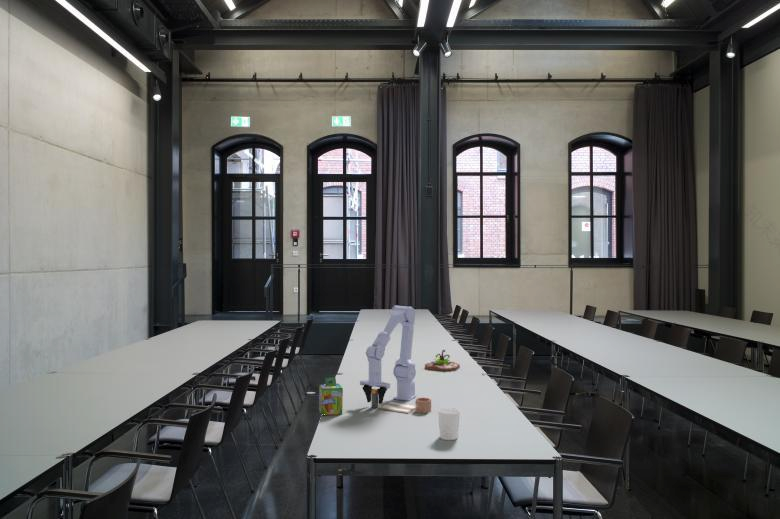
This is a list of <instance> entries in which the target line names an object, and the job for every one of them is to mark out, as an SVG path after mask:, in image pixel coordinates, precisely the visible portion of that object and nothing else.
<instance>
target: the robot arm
mask: <svg viewBox="0 0 780 519" xmlns="http://www.w3.org/2000/svg"><path fill="white" fill-rule="evenodd" d="M415 318H416V311H415V309H414V308H413V307H412V306H403V305H396V304H395V305H393V307H392V308H391V311H390V317H389V319H388V321H387V323H386V325H385V327H384V330H383V331H380V332H378V334H377V336H376V337H375V339H374V341H373V342H372V344H370V345H369V346H368V347H367V348H366V351H365V356H366V357H367V362H368V380H367V379H365V380H364V379H362V380H359V386H362V391H363V392H364V395H365V397H366V401H367V403H372V393H371V389H373V388H374V387H375V388H376V389H377V390H378V405H382V404H383V402H384V397H385V394H386V393H387V391H388V389H390V388H391V383H389V382H388V383H387V382H386V381H385V382H384V381H382V359H383V357H384V356H385V351H386V347H387V345H388V344H389V341H390V340H391V334H392V332H393V331H394V330H395V328H396V327H397V326H398V324H399V323H400V324H401V326H402V329H401V338H400V339H401V341H400V352H399V359H397V360H395V361H394V362H395V363H394V364H395V365H394V367H393V370H392V373H393V375H394V377H395V380H396V396H394V397H393V400H399V401H400V400H401V401H411V400H412V399H414V398H416V397H417V394H416V384H415V382H416V381H415V377H416V372H417V371H416V363H415V362H413V360H412V354H413V351H412V350H413V339H414V332H415V331H414V329H415V328H414V327H415Z"/></svg>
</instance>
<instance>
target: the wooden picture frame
mask: <svg viewBox="0 0 780 519" xmlns="http://www.w3.org/2000/svg"><path fill="white" fill-rule="evenodd" d="M377 410H382V411H389V412H393V411H395V413H400V412H401V414H406V413H409V414H410V413H411V412H414V411H416V404H408V403H402V402H401V403H400V402H394V401H388V402H387V403H385V404H383V405H381V406H378V408H377ZM413 410H414V411H413Z"/></svg>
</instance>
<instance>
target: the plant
mask: <svg viewBox="0 0 780 519" xmlns="http://www.w3.org/2000/svg"><path fill="white" fill-rule="evenodd" d="M445 352H446V349H442V351H441V354H440V353H437V354H436V355H435V358H436V359H435V358H433V359H434V361H430V362H428V363H425V364H424V369H425V370H427V371H435V372H444V373H447V372H453V371H458V370H460V367H461V365H460V363H457V362H455V361H450V357H451V355H450V354H444V353H445Z"/></svg>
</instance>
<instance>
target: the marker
mask: <svg viewBox="0 0 780 519" xmlns="http://www.w3.org/2000/svg"><path fill="white" fill-rule="evenodd" d="M377 389H378V388H372V389H371V408H372V409H378V408H379V395H378V390H377Z"/></svg>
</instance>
